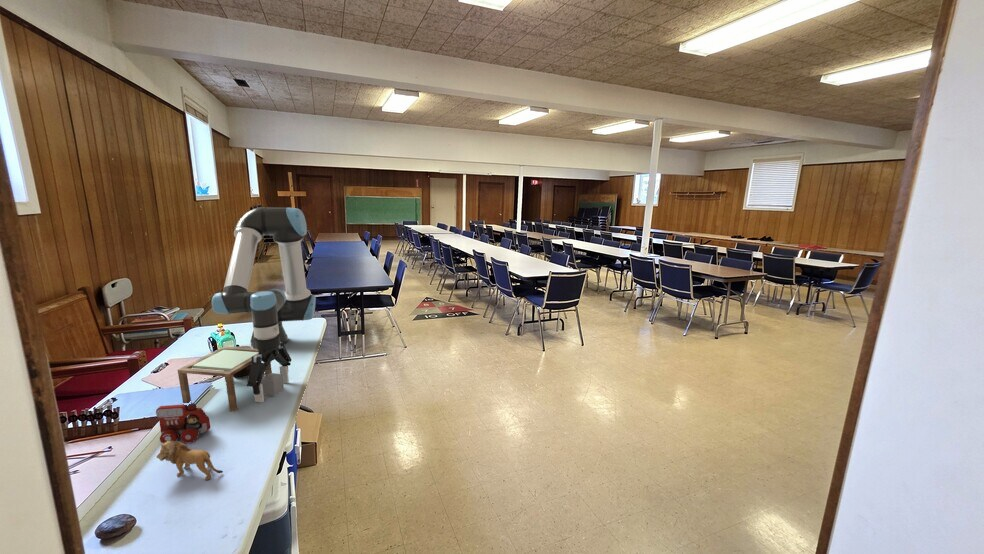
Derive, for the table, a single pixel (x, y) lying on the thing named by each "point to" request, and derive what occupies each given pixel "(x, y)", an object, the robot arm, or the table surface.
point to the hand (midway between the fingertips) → (272, 391)
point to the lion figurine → (186, 457)
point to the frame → (227, 374)
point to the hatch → (225, 360)
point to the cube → (272, 384)
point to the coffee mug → (244, 371)
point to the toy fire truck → (182, 422)
